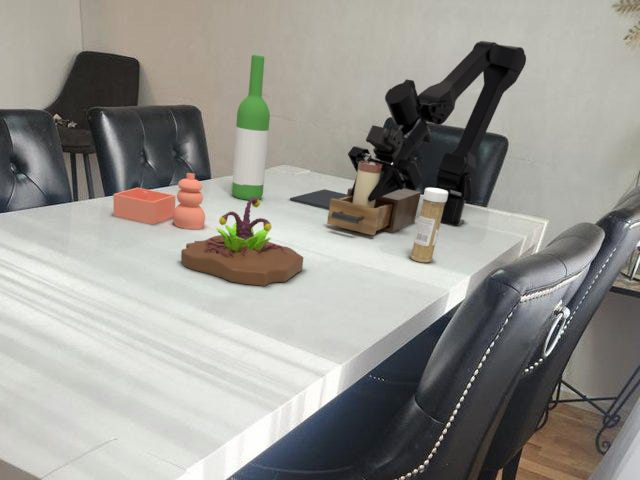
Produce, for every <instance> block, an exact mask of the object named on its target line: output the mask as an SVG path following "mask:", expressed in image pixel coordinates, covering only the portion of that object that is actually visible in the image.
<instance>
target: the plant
mask: <svg viewBox="0 0 640 480" xmlns="http://www.w3.org/2000/svg"><path fill="white" fill-rule="evenodd" d="M260 205H261V201H260V199H258V198H256V197H252V198H250V200H248V202H246V206H245V208H244V213H243V219H241V216H240V215H239V214H238V213H237V212H236V211H232V210H231V211H228V212H227V213H225V214H223V215H221V216H220V218H219V220H218V222H219V224H220V225H221V226H225V229H226V231H227V232H228V233H227V232H226V231H225V230H223V229H221V228H218V227H215V230H216V231H217V233H219V235H214V236H212V237H209V238H207V239H205V240H195V241H194V242H189V243H186V245H185V248H182V249H181V252H180V253H181V254H180V255H181V256H180V260H181V261H180V262H181V263H182V264H183V266H184V267H186V268H187V269H190V270H193V271H197V272H201V273H205V274H209V275H212V276H215V277H219V278H221V279H224V280H226V281H229V282H231V283H236V284H244V285H251V286H253V285H254V286H261V287H266V286H267V285H269V284H273V283H285V282H287V281H288V280H290V279H291V278H292V277H294V276H295V275H296V274H299V272H301V271H303V266H304V264H303V263H304V256H302V255H301V254H299V253H298V252H296V250H294V249H292V248H290V247H288V246H283V245H280V244H277V243H274V242H271V241H270V240H271V239H272V237H267V235H268V234H269V232H270V230H271V229H272V224H271V222H270V221H269V220H268V219H265V218H262V217H258V218H255V219H254V220H252V221H251V218H250V217H251V215H250V214H251V209H252V206H253V208H258V207H260ZM229 216H232V217H234V220H235V223H233V225H232V227H231V226H229V225H227V222H228V218H229ZM259 223H262V225H263V228H262V229H260V230H258V231H257V232H256V233H255V232H254V227H255V226H256V225H257V224H259Z"/></svg>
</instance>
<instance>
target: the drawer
mask: <svg viewBox="0 0 640 480" xmlns="http://www.w3.org/2000/svg"><path fill="white" fill-rule="evenodd" d="M352 202H353V196H352V195H351V196H347V197H344V198H340V199H334V198H332V199H331V200H330V207H329V210H328V214H327V222H326V224H327V225H330V226H334V227H338V228H341V229H346V230H349V231H354V232H358V233H361V234H364V235H365V234H366V235H368V236H375V235H376V232H377V231H381V230H380V229H382V228H384V227H387V226H389V225H390V223H391V218H392V213H393V208H394V203H391V202H387V201H383V200H378V199H376V201H375V206H374V208H372V207H368V206H364V205H359V204H355V203H352Z"/></svg>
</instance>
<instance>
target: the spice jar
mask: <svg viewBox="0 0 640 480" xmlns="http://www.w3.org/2000/svg"><path fill="white" fill-rule="evenodd" d="M447 197H448V192H447V191H446V190H443V189H438V188H437V187H425V188H424V193H423V196H422V205H421V209H420V213H419V217H418V221H417V225H416V231H415V234H414V239H413V245H412V249H411V254H410V259H412V261H415V262H418V263H426V264H428V263H431V262H432V261H433V255H434V252H435V248H436V244H437V240H438V235H439V231H440V227H441V222H440V221H441V217H442V213H443V209H444V205H445V202H446V201H447Z"/></svg>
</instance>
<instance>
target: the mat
mask: <svg viewBox="0 0 640 480" xmlns="http://www.w3.org/2000/svg"><path fill="white" fill-rule="evenodd" d="M344 197H347V193H342V192H338V191H335V190H330V189H325V188H324V189H319V190H316V191H312V192H308V193H305V194H300V195H296V196H292V197H290V198H289V201H290V202H295V203H300V204H304V205H309V206H311V207H317V208H320V209H324V210H328V211H329V207H330V200H331V199H332V198H334V199H340V198H344Z"/></svg>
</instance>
